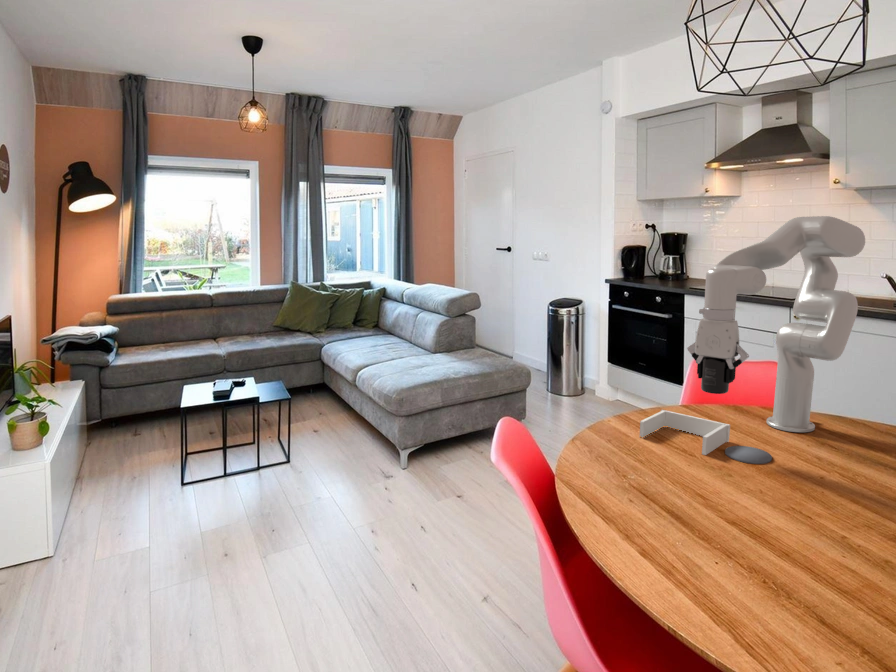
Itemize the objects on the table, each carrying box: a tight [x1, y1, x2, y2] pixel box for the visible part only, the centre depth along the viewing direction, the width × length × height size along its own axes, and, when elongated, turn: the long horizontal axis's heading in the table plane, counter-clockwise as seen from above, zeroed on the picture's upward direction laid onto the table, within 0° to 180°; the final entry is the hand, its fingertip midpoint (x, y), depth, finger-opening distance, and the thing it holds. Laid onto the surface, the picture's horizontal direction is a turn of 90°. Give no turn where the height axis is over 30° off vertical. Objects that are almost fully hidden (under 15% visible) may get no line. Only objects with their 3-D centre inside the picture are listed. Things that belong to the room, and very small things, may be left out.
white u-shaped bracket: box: [639, 409, 731, 456], centre depth 162 cm, size 14×20×5 cm
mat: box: [724, 445, 773, 465], centre depth 150 cm, size 11×11×1 cm
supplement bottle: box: [700, 357, 730, 395], centre depth 153 cm, size 7×7×12 cm
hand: (715, 379), depth 153 cm, fingers closed on supplement bottle, 6 cm apart
